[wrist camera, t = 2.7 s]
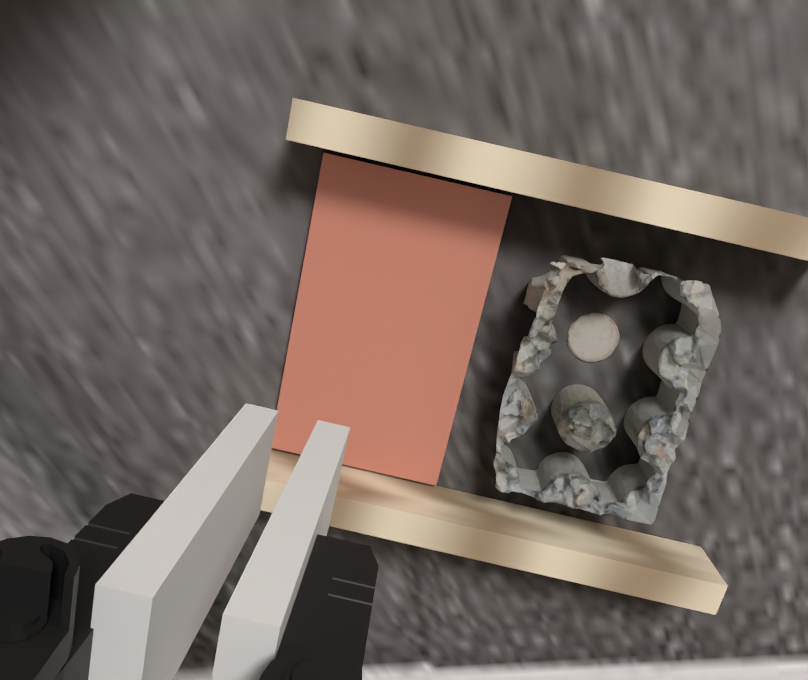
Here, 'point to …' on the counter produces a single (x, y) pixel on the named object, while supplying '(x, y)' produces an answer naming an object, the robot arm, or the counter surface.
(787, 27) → the counter surface
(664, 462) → the egg carton
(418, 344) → the plate
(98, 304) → the counter surface
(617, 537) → the channel
